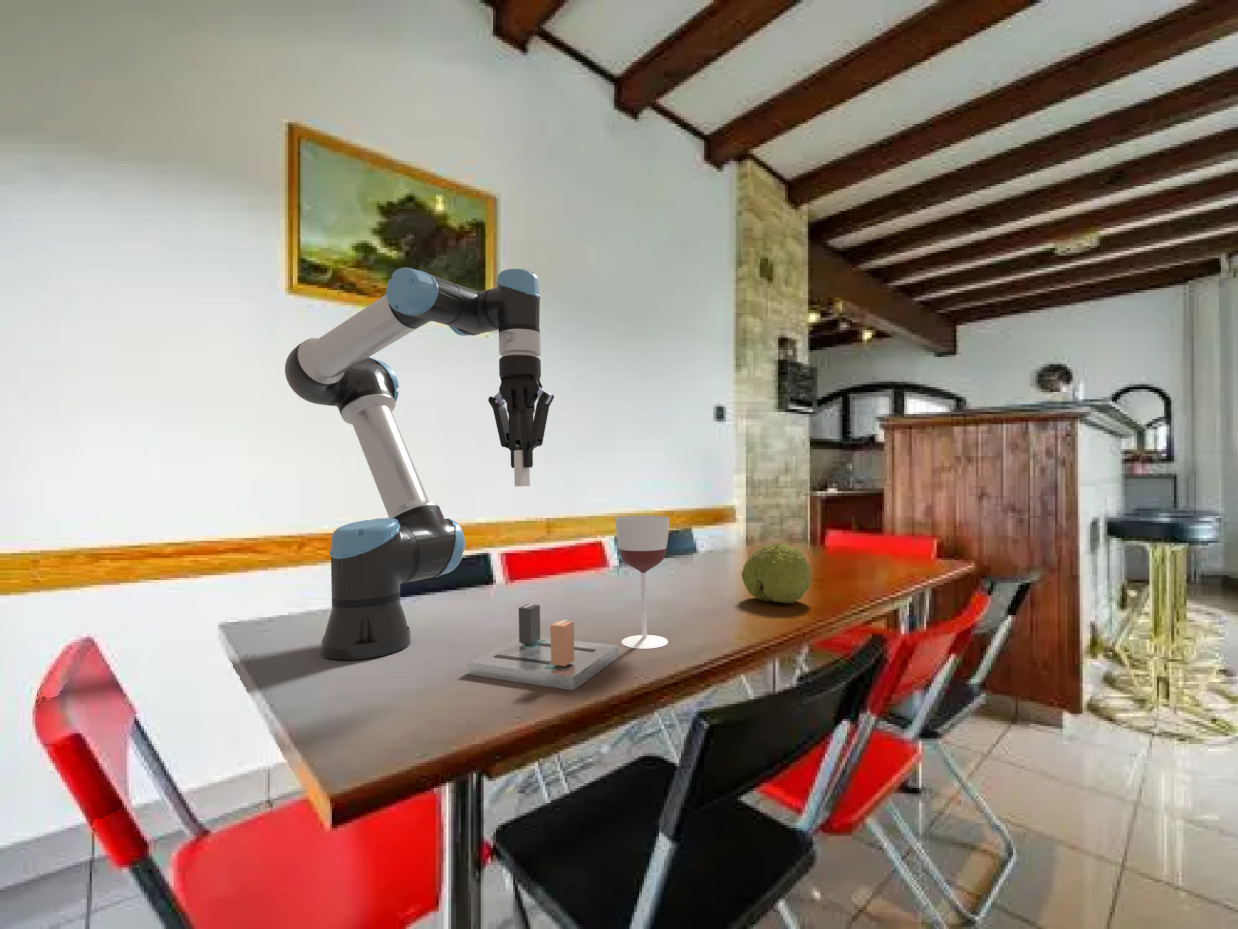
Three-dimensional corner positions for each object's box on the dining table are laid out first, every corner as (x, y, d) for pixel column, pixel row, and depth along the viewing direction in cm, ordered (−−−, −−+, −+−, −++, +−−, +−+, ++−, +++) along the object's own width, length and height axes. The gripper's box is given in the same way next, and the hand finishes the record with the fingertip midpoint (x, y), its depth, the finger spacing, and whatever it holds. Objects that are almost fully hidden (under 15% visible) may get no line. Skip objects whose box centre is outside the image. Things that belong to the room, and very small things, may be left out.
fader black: (519, 642, 100) (518, 606, 100) (528, 637, 102) (528, 603, 102) (531, 644, 99) (530, 607, 99) (540, 639, 101) (539, 603, 101)
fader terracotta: (551, 664, 88) (550, 623, 88) (560, 658, 91) (560, 619, 91) (564, 666, 87) (564, 625, 87) (574, 660, 90) (573, 620, 90)
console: (467, 674, 91) (467, 661, 91) (523, 645, 106) (523, 634, 106) (573, 690, 83) (573, 676, 83) (618, 657, 98) (617, 644, 98)
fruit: (733, 605, 134) (727, 544, 141) (765, 617, 143) (758, 559, 150) (796, 591, 124) (786, 526, 131) (827, 604, 133) (816, 543, 140)
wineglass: (668, 650, 101) (665, 519, 102) (613, 647, 103) (610, 519, 104) (674, 635, 110) (671, 515, 111) (623, 633, 112) (620, 515, 113)
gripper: (477, 357, 104) (480, 487, 104) (539, 349, 99) (542, 486, 99) (502, 363, 111) (504, 485, 111) (561, 357, 106) (563, 485, 106)
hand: (522, 486), depth 105 cm, fingers closed
